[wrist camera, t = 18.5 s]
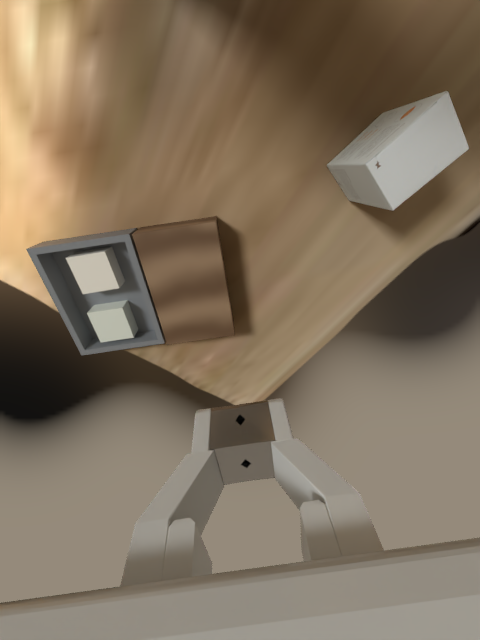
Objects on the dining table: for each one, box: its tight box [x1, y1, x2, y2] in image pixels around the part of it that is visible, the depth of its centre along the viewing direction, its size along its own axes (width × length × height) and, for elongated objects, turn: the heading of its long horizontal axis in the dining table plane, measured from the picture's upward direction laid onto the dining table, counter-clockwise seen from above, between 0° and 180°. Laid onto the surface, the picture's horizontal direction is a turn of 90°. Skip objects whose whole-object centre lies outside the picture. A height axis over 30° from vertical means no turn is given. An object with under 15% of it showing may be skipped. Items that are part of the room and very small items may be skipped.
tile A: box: [66, 246, 125, 294], centre depth 36 cm, size 5×5×2 cm
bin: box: [27, 228, 166, 355], centre depth 38 cm, size 16×12×4 cm
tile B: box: [87, 300, 138, 342], centre depth 40 cm, size 5×5×2 cm
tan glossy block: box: [132, 216, 235, 345], centre depth 38 cm, size 16×10×4 cm, turn 7°
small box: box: [327, 91, 469, 211], centre depth 29 cm, size 8×6×10 cm
